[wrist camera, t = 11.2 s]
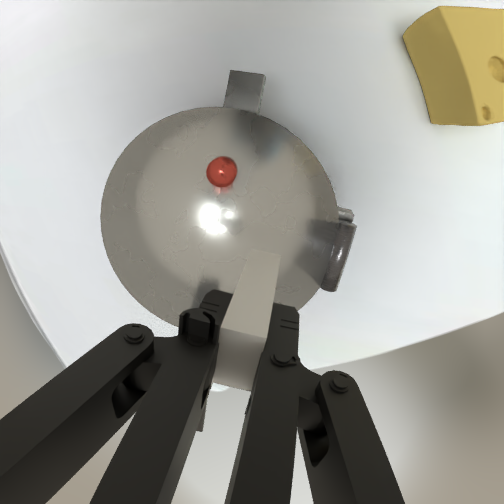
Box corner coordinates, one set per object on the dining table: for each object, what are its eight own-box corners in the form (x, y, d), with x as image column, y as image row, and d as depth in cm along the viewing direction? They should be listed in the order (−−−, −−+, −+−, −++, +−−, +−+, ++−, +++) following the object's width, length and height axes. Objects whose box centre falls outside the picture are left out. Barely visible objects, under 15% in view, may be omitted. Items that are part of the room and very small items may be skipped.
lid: (116, 98, 18) (100, 96, 16) (374, 141, 19) (387, 143, 17) (120, 394, 30) (113, 410, 28) (279, 424, 31) (279, 441, 28)
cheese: (500, 116, 23) (557, 120, 14) (425, 128, 26) (475, 131, 16) (474, 29, 20) (523, 7, 11) (394, 32, 22) (430, -2, 13)
